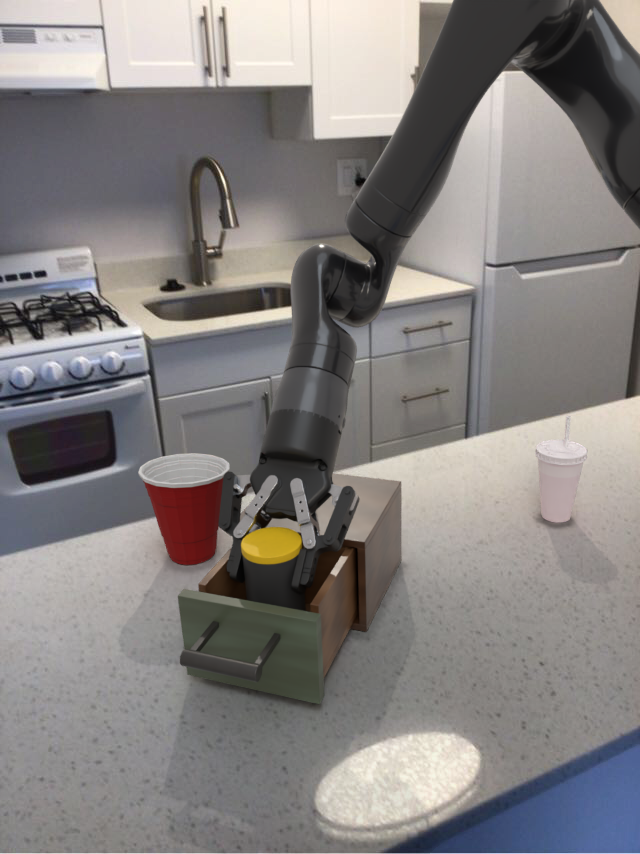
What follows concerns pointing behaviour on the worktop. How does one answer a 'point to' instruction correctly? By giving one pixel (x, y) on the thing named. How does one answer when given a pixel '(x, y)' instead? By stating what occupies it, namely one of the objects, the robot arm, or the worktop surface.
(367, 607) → the cabinet
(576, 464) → the smoothie
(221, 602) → the drawer
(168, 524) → the plastic cup
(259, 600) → the canister
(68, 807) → the worktop surface
